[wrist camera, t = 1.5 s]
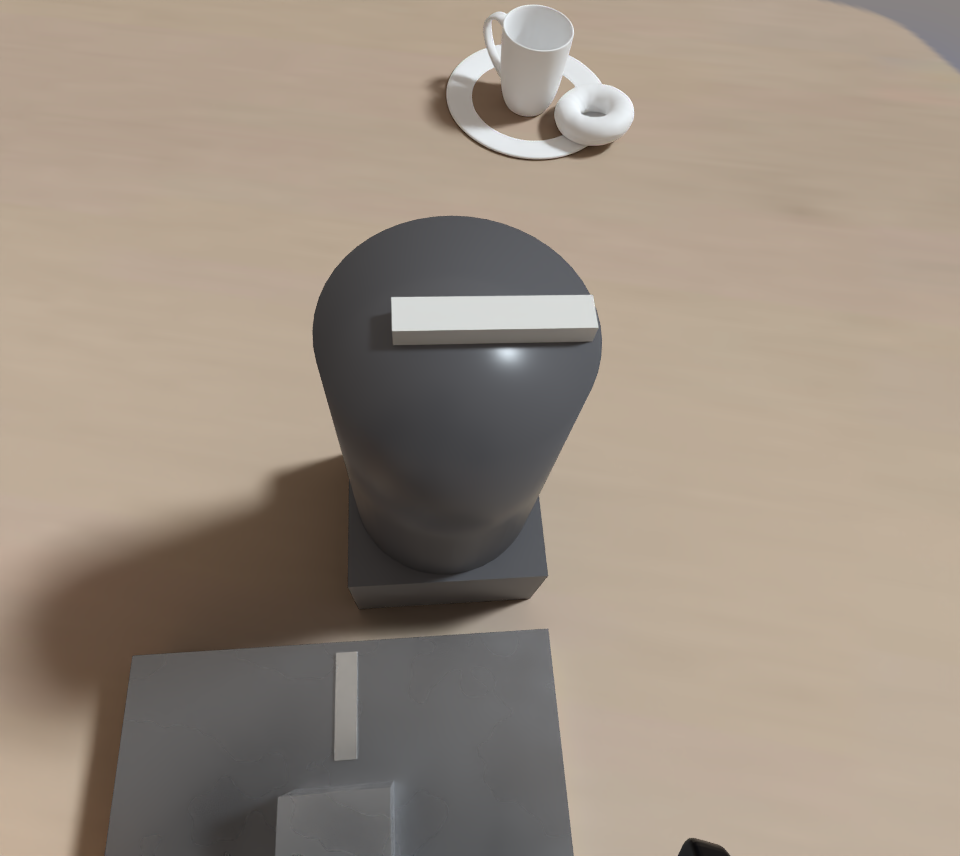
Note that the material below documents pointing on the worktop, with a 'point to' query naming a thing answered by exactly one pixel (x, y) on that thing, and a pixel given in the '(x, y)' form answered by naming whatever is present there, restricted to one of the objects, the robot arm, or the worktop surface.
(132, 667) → the plate
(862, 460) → the worktop surface
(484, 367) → the knob
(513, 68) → the teacup and saucer
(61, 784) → the worktop surface
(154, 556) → the worktop surface
